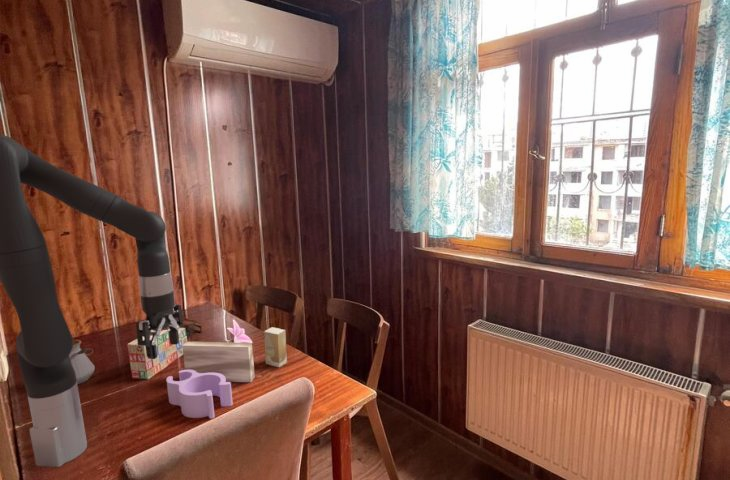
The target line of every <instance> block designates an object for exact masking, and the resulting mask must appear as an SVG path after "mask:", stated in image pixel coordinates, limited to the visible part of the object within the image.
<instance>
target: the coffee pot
mask: <svg viewBox="0 0 730 480" xmlns="http://www.w3.org/2000/svg"><path fill="white" fill-rule="evenodd" d="M81 344H82V341H81V340H80V339H73V347H72V350H71V352H70V354H69V358H70V361H71V364H72V366H73V368H74V371H75V374H76V380H77V386H78V385H80V384H82V383H85V382H86V381H88V379H90V377H91V376H92V375H93V374H94V372H95V365H94V363H93V362H92V361H91V360H90V358H89V357H88V354H86V353H87V352H89V350H90V348H89V347H85V348H83V349H82V348H81V347H80V346H81ZM91 350H92V352H91V353H90V355H91V354H93V352H94V350H93V349H91Z"/></svg>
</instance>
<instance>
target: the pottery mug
mask: <svg viewBox="0 0 730 480" xmlns="http://www.w3.org/2000/svg"><path fill="white" fill-rule="evenodd" d="M195 327H197V328H198V329H199V331H200V333H202V332H203V326H202V321H200V320H197V319H196V320H195V319H193V318H188V317H184V318H183V325H180V327H179V328H185V329H186V336H187V338H188V337H189V338H190V337H192V336H193V334H194V330H195V329H196V328H195Z"/></svg>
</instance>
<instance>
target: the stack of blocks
mask: <svg viewBox="0 0 730 480" xmlns="http://www.w3.org/2000/svg"><path fill="white" fill-rule="evenodd" d="M185 328H186V327H185ZM185 328H179V330H178V334H179V343H178V344H176V345H175V344H170V338H169V331H170V330H169V329H168V328H167V329H163V330H162V331H161V333H160V335H159V336H158V337H157V339H156V343H155V344H156V349H157V358H155V359H149V358H148V357H147V354H146V346H141V345H138V341H137V338H136V339H134V340H132V341H131V342H129V343H127V351H128V360H129V365H130V373H131V378H132V379H139V380H149V379H151V378H153V377H154V376H155V375H157V374H158V373H160V372H161V371H162V370H164V369H165V368H167V367H168V366H169V365H171V364H172V363H174V362H175V361H176V360H177V359H179V358H181V357H182V356H184V355H183V347H182V345H184V344H185V343H186V342H187V341H188V337H187V336H186V329H185ZM151 332H155V331H153V330H152V329H151ZM151 339H152V336H150V340H151ZM143 340H144V337H143Z"/></svg>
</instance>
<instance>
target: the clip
mask: <svg viewBox="0 0 730 480" xmlns="http://www.w3.org/2000/svg"><path fill="white" fill-rule="evenodd" d="M178 377H179V380H174V379H173V378H174V376H172V375H169V376H167V377H166V387H167V397H168V402H169V403H170V404H171V405H173V406H179V407H180V409H181V414H182V415H183V416H184V417H186V418H189V419H191V418H192V419H200V418H201V419H202V418H205V417H206V418H207V417H208V418H209V419H210V420H212V419H214V418H216V416H215V407H214V399H213V396H216V397H219V400H220V407H224V408H225V407H231V406H233V402H234V401H233V393H232V382H228V381H226V378H225V376H224V375H222V374H220V373H214V372H210V373H197V372H196V371H195V370H185V369H182V370H179V371H178Z"/></svg>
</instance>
